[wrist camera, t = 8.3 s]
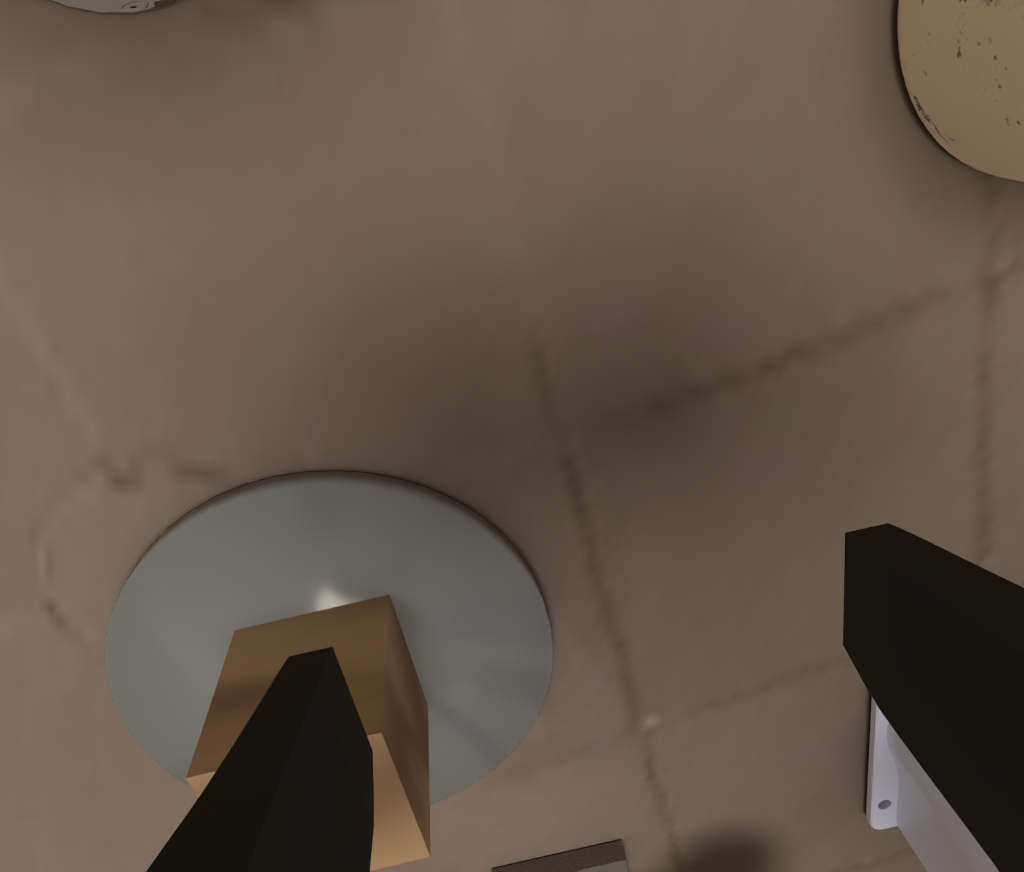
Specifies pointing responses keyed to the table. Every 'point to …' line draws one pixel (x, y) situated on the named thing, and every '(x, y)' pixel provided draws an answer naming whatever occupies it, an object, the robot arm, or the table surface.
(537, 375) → the table surface
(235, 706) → the walnut block
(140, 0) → the wine glass
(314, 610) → the slate dish
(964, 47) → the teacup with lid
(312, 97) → the table surface
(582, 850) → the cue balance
